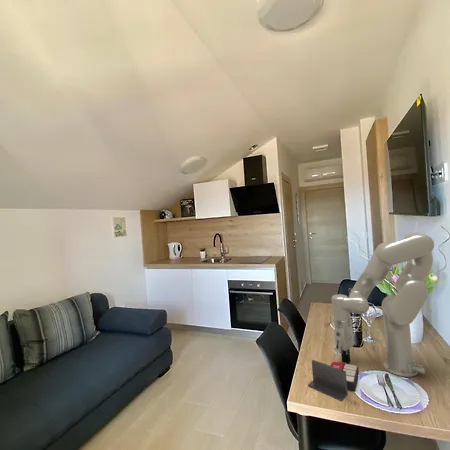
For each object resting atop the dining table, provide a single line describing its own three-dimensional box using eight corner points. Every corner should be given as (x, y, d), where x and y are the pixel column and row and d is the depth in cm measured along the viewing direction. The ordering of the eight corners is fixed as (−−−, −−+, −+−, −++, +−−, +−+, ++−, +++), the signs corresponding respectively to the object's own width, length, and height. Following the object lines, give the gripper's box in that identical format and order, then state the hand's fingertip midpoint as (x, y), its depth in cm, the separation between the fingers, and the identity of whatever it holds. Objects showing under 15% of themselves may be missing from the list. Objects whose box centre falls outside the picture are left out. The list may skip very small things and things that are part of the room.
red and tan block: (358, 364, 119) (354, 381, 106) (359, 375, 118) (355, 392, 106) (331, 360, 124) (324, 375, 112) (332, 370, 124) (325, 386, 111)
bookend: (347, 395, 104) (345, 371, 104) (341, 401, 101) (339, 376, 101) (314, 381, 115) (313, 359, 115) (308, 386, 112) (306, 364, 112)
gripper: (342, 329, 118) (347, 371, 118) (357, 319, 128) (361, 358, 128) (326, 325, 124) (330, 366, 124) (341, 316, 134) (345, 353, 134)
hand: (346, 362), depth 126 cm, fingers closed
